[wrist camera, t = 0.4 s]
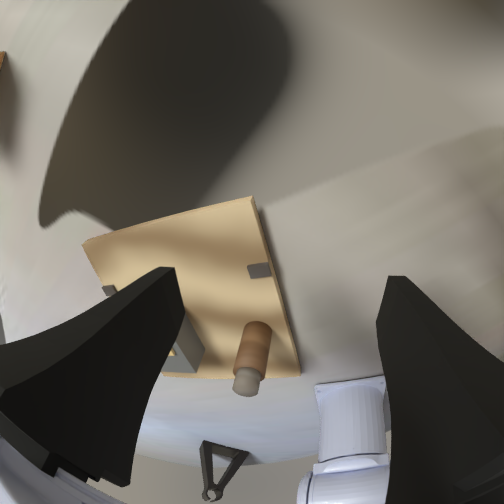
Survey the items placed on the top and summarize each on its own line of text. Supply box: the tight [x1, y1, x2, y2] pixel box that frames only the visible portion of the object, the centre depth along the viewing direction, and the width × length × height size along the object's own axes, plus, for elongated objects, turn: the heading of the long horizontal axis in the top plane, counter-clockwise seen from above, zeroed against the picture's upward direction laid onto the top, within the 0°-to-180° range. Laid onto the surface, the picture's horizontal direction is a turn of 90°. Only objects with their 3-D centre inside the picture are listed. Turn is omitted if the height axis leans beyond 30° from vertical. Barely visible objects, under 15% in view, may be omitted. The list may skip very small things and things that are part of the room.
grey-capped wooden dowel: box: [232, 321, 272, 397], centre depth 20 cm, size 2×2×6 cm
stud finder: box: [161, 313, 205, 373], centre depth 23 cm, size 6×4×3 cm
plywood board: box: [82, 196, 301, 379], centre depth 24 cm, size 18×16×1 cm
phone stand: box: [199, 440, 249, 502], centre depth 39 cm, size 9×6×12 cm, turn 74°
